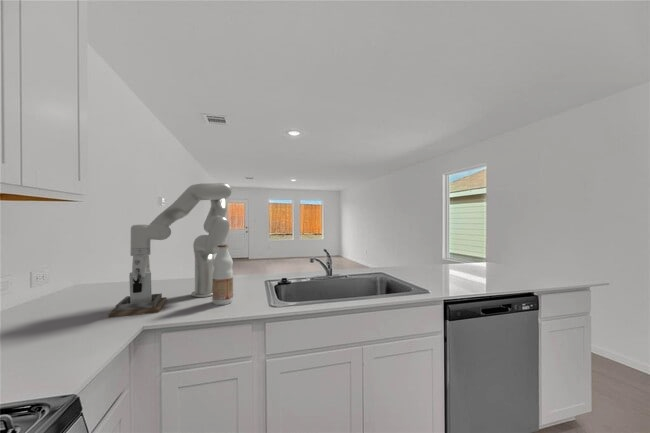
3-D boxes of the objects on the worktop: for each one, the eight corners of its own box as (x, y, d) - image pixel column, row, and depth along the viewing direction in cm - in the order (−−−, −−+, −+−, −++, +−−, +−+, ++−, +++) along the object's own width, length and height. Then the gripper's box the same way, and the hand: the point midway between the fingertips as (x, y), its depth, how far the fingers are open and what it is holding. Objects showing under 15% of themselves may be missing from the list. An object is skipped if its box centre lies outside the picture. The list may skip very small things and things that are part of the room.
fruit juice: (216, 306, 127) (216, 246, 127) (209, 301, 134) (210, 244, 134) (236, 302, 133) (236, 244, 133) (228, 298, 140) (229, 243, 140)
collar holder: (166, 300, 136) (166, 292, 136) (159, 312, 119) (159, 302, 119) (123, 304, 130) (123, 295, 130) (108, 317, 113) (108, 307, 113)
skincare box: (151, 301, 129) (151, 269, 129) (151, 304, 124) (152, 272, 124) (129, 304, 124) (129, 271, 124) (129, 308, 119) (129, 274, 119)
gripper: (145, 253, 118) (145, 293, 118) (154, 249, 134) (154, 284, 134) (124, 254, 115) (124, 295, 115) (136, 250, 131) (136, 285, 131)
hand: (140, 289), depth 124 cm, fingers open, 9 cm apart
